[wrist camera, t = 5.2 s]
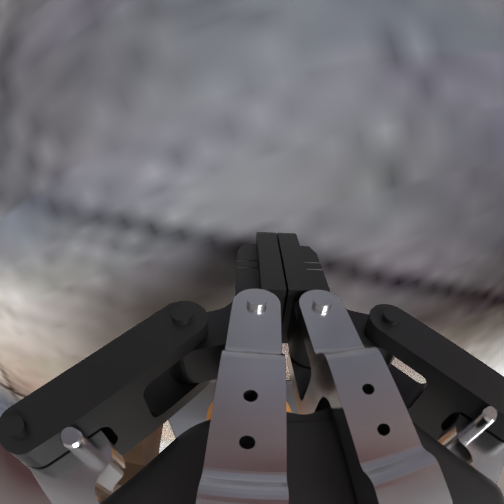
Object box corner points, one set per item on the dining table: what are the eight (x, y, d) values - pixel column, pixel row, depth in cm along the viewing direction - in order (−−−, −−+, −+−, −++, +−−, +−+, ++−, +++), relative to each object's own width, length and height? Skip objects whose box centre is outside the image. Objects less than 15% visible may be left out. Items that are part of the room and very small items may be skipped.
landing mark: (153, 374, 19) (152, 376, 18) (352, 376, 19) (353, 378, 19) (180, 445, 26) (180, 447, 26) (312, 446, 26) (312, 448, 26)
